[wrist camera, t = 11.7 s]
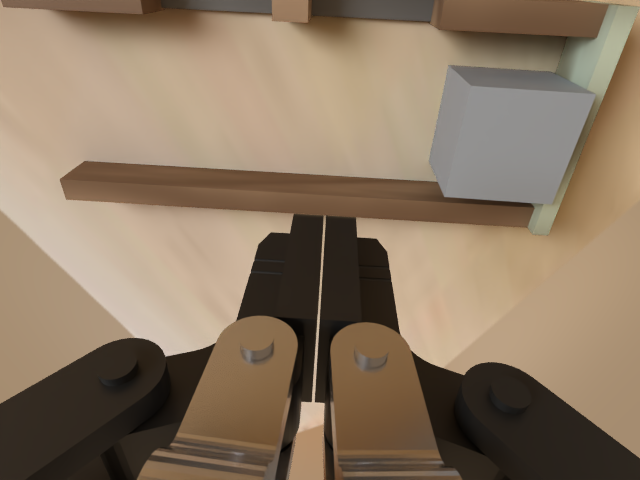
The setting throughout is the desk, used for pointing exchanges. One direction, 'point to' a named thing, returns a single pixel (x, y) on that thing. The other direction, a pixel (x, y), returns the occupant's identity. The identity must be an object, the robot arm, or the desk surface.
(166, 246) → the desk surface
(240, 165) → the desk surface
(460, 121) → the slate block
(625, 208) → the desk surface
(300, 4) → the box
